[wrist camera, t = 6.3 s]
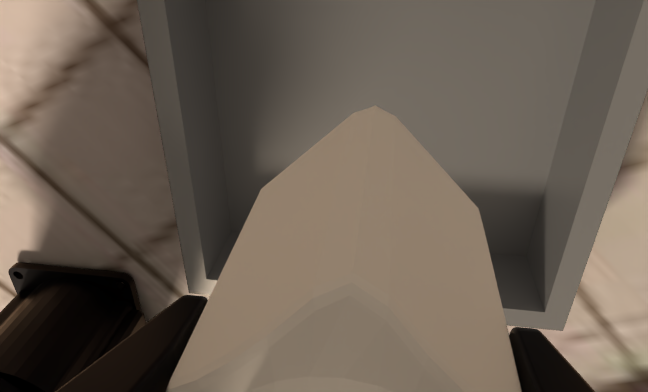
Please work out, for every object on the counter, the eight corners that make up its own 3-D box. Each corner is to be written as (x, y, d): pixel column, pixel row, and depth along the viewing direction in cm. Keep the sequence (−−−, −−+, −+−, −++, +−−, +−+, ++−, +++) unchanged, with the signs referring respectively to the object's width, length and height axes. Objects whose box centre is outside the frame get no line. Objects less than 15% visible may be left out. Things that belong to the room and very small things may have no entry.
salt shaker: (250, 189, 12) (-47, 773, 4) (377, 84, 10) (287, 743, 2) (360, 291, 13) (294, 898, 5) (490, 211, 12) (687, 940, 4)
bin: (220, 233, 23) (189, 293, 20) (175, -130, 16) (112, -135, 12) (538, 261, 22) (562, 330, 18) (650, -129, 14) (726, -134, 11)
